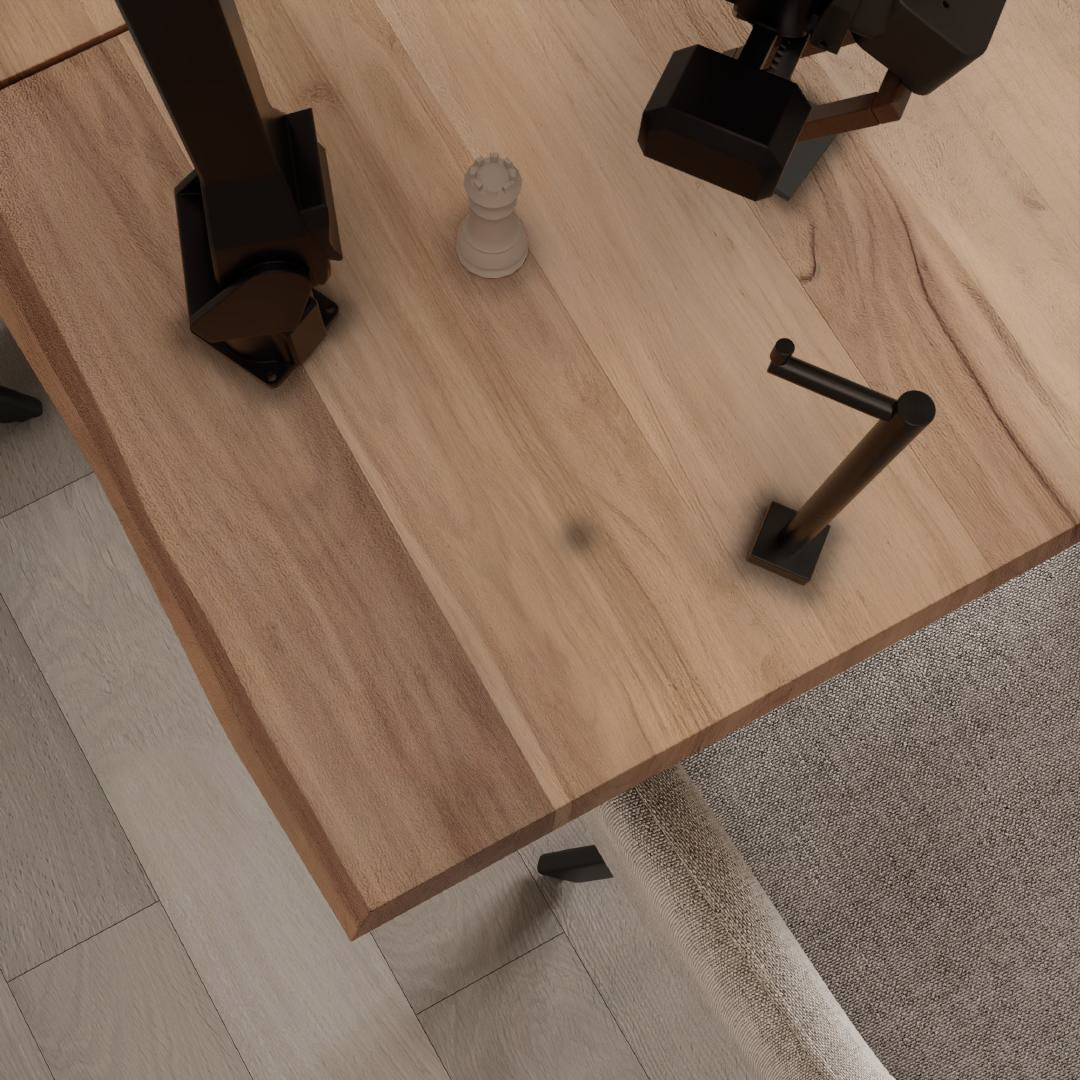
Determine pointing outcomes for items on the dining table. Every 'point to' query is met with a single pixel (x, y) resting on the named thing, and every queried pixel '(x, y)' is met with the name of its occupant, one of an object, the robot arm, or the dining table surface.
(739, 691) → the dining table surface
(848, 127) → the rectangular frame
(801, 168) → the felt mat
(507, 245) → the rook chess piece
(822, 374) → the black hanging stand
